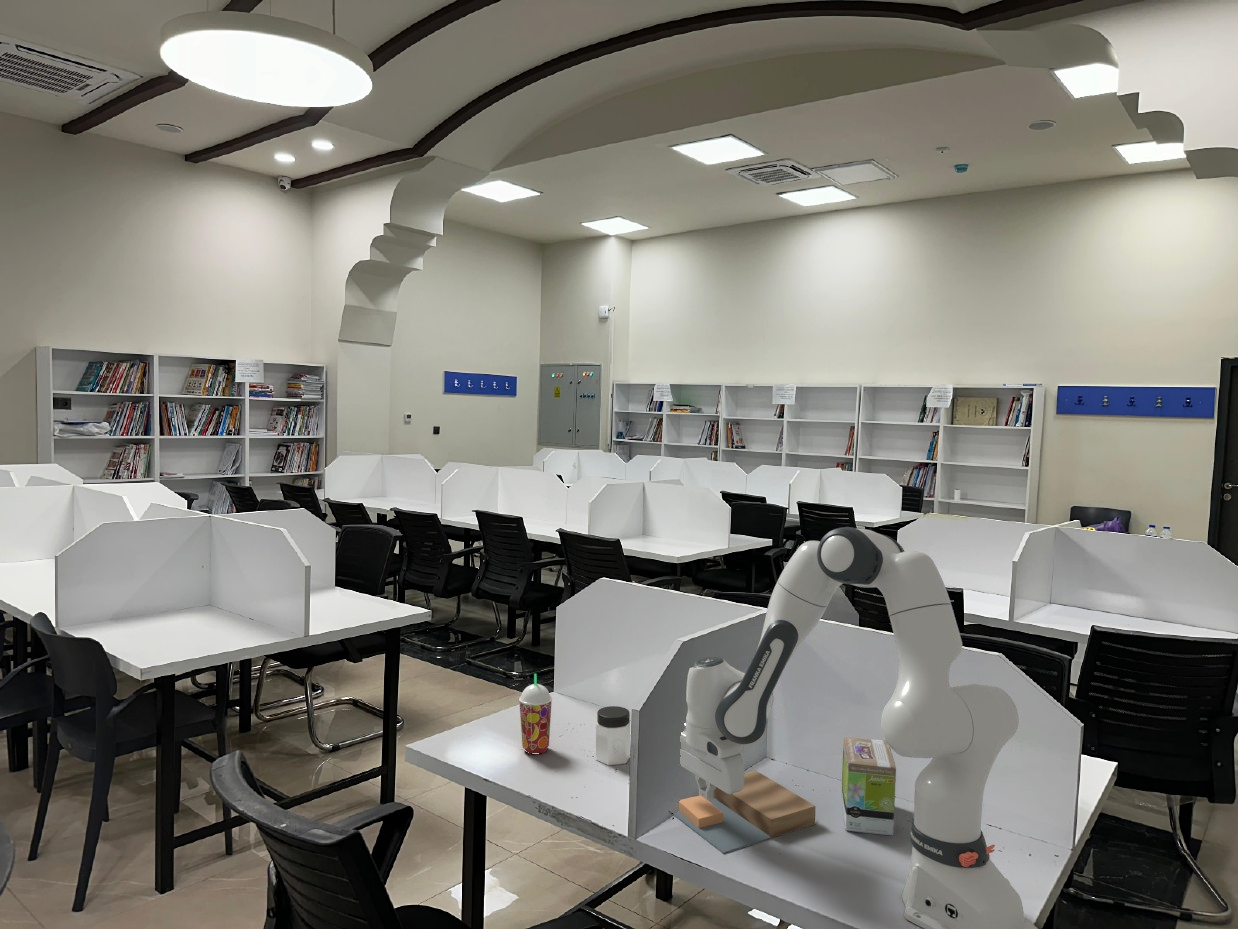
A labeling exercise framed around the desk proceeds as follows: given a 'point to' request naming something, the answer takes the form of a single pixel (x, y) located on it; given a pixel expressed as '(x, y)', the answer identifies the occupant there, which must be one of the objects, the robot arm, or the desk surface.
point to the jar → (613, 735)
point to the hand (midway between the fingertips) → (706, 797)
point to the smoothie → (535, 717)
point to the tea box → (868, 786)
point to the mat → (727, 830)
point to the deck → (768, 805)
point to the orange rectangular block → (700, 811)
